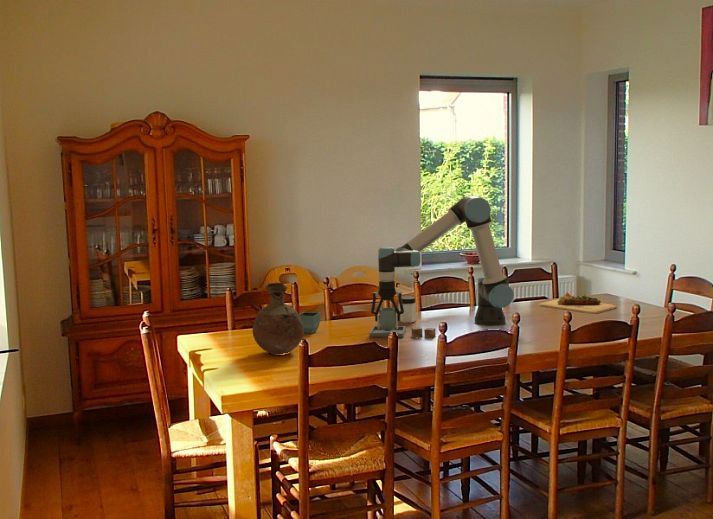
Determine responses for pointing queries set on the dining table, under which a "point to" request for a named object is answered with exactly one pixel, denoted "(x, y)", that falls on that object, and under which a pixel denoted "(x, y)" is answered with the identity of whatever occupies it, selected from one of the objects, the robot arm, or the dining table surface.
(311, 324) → the flower pot
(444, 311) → the dining table surface
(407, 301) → the jar
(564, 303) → the cutting board
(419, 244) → the robot arm
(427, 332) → the walnut block
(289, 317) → the jug
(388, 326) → the cup
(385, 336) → the tray
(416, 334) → the walnut block
